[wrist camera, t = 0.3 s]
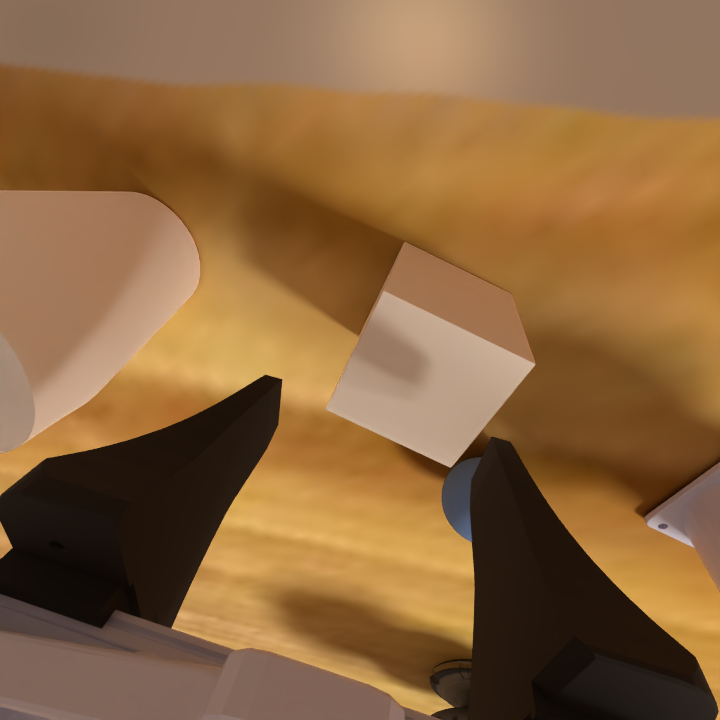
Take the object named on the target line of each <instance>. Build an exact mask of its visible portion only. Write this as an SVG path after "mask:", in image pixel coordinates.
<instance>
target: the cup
mask: <svg viewBox="0 0 720 720" xmlns="http://www.w3.org/2000/svg"><path fill="white" fill-rule="evenodd" d="M199 279H200V260H199V255H198V251H197V248H196V245H195V243H194V240H193V238H192V236H191V234H190V233H189V231H188V229H187V228H186V226H185V225H184V224H183V222H182V221H181V220H180V219H179V217H178V216H177V215H176V214H175V213H174V212H173V211H171V210H170V209H169V208H168V207H167V206H165V205H164V204H163V203H161V202H160V201H158V200H156V199H154V198H152V197H150V196H148V195H145V194H142V193H137V192H123V191H26V190H0V453H4V452H8V451H11V450H14V449H16V448H18V447H19V446H21V445H22V444H24V443H25V442H27V441H28V440H30V439H31V438H33V437H34V436H36V435H37V434H39V433H40V432H42V431H43V430H45V429H46V428H48V427H49V426H51V425H52V424H54V423H55V422H57V421H58V420H60V419H62V418H63V417H65V416H66V415H68V414H69V413H71V412H73V411H74V410H76V409H78V408H79V407H81V406H83V405H84V404H86V403H87V402H88V401H89V400H91V399H92V398H93V397H94V396H95V395H96V394H97V393H98V392H99V391H100V390H101V389H102V388H103V387H104V386H105V385H106V384H107V383H108V382H109V381H110V380H111V379H112V378H113V377H114V376H115V375H116V374H117V373H118V372H119V371H120V370H121V369H122V368H123V367H124V366H125V365H126V363H127V362H128V361H129V360H130V359H131V358H132V357H133V356H134V355H135V354H136V353H137V352H138V351H139V350H140V349H141V348H142V347H143V346H144V345H145V344H146V343H147V342H148V341H149V340H150V339H151V338H152V337H153V336H154V335H155V333H156V332H157V331H158V330H159V329H160V328H161V327H162V326H163V325H164V324H165V323H166V322H167V321H168V320H169V319H170V318H171V317H172V316H173V315H174V314H175V313H176V312H177V311H178V310H179V309H180V308H181V307H182V305H183V304H184V303H185V302H186V301H187V300H188V299H189V298H190V297H191V296H192V295H193V293H194V292H195V290H196V288H197V286H198V283H199Z"/></svg>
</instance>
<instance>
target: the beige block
mask: <svg viewBox="0 0 720 720" xmlns="http://www.w3.org/2000/svg"><path fill="white" fill-rule="evenodd" d="M535 365H536V363H535V360H534V357H533V355H532V352H531V349H530V346H529V343H528V340H527V337H526V334H525V331H524V328H523V325H522V322H521V319H520V316H519V313H518V311H517V308H516V305H515V302H514V299H513V296H512V294H511V293H509V292H507V291H505V290H503V289H501V288H499V287H497V286H494V285H492V284H490V283H488V282H486V281H484V280H482V279H480V278H478V277H476V276H474V275H472V274H470V273H468V272H466V271H464V270H462V269H460V268H458V267H456V266H454V265H452V264H450V263H448V262H445V261H443V260H441V259H439V258H437V257H435V256H433V255H431V254H429V253H427V252H425V251H423V250H421V249H419V248H417V247H415V246H413V245H411V244H409V243H407V242H405V241H404V243H403V246H402V248H401V250H400V252H399V254H398V256H397V258H396V260H395V262H394V264H393V266H392V268H391V270H390V272H389V275H388V277H387V279H386V281H385V283H384V285H383V287H382V289H381V291H380V293H379V295H378V297H377V299H376V301H375V304H374V306H373V308H372V310H371V312H370V314H369V316H368V318H367V320H366V322H365V324H364V326H363V328H362V330H361V333H360V335H359V337H358V339H357V341H356V343H355V346H354V348H353V350H352V352H351V354H350V357H349V359H348V361H347V363H346V365H345V368H344V370H343V372H342V374H341V376H340V379H339V381H338V383H337V385H336V388H335V390H334V392H333V394H332V396H331V399H330V401H329V403H328V405H327V407H326V410H328V411H330V412H332V413H334V414H337V415H339V416H341V417H343V418H345V419H347V420H349V421H351V422H354V423H356V424H358V425H360V426H362V427H364V428H366V429H369V430H371V431H373V432H375V433H377V434H379V435H381V436H384V437H386V438H388V439H390V440H392V441H394V442H396V443H399V444H401V445H403V446H405V447H407V448H409V449H411V450H413V451H416V452H418V453H420V454H422V455H424V456H426V457H428V458H431V459H433V460H435V461H437V462H439V463H441V464H443V465H446V466H448V467H450V468H451V467H452V466H453V465H454V464H455V462H456V461H457V460H458V459H459V457H460V456H461V455H462V454H463V453H464V451H465V450H466V449H467V448H468V446H469V445H470V444H471V443H472V442H473V440H474V439H475V438H476V437H477V435H478V434H479V433H480V432H481V431H482V429H483V428H484V427H485V426H486V424H487V423H488V422H489V421H490V420H491V418H492V417H493V416H494V415H495V413H496V412H497V411H498V410H499V409H500V407H501V406H502V405H503V404H504V402H505V401H506V400H507V399H508V398H509V396H510V395H511V394H512V393H513V391H514V390H515V389H516V388H517V387H518V385H519V384H520V383H521V382H522V380H523V379H524V378H525V377H526V376H527V374H528V373H529V372H530V371H531V369H532V368H533V367H534V366H535Z"/></svg>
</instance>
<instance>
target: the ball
mask: <svg viewBox="0 0 720 720" xmlns="http://www.w3.org/2000/svg"><path fill="white" fill-rule="evenodd" d="M481 458H482V457H475V458H470V459H467V460H464V461H462V462H461V463H459V464H458V465H456V466H455V467H454V468H453V469H452V470H451V471H450V472H449V474H448V475H447V477H446V479H445V481H444V484H443V488H442V506H443V510H444V513H445V516H446V518H447V520H448V521H449V523H450V525H451V526H452V527H453V528H454V530H455V531H456V532H457V533H459V534H460V535H461V536H462V537H464V538H465V539H467V540H469V541H471V542H472V536H471V521H470V492H471V479H472V477H473V475H474V473H475V471H476V469H477V466H478V464H479V462H480V460H481Z"/></svg>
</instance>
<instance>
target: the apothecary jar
mask: <svg viewBox="0 0 720 720" xmlns="http://www.w3.org/2000/svg"><path fill="white" fill-rule="evenodd" d="M471 665H472V661H469V660H457V661H449V662H445V663H442V664H440V665H438V666H437V667H435V668H434V669H433V670H434V674H435V676H432V677H430V684H431V686H432V688H433V690H434V691H435V692H436V693H437V694H438V695H439V696H440V697H441V698H443V699H444V700H445V701H447V702H448V703H449V704H450V705H452V706H453V707H455V708H449V709H445V710H441V711H438V712H436V713H434V714H432V715H431V716H432V717H435V718H438V719H441V720H467V717H468V706H469V695H470V680H471Z"/></svg>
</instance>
